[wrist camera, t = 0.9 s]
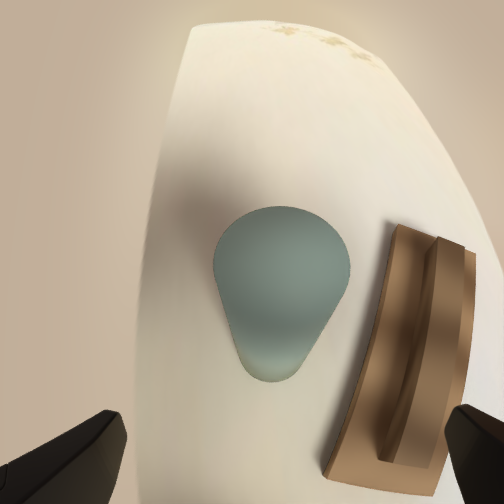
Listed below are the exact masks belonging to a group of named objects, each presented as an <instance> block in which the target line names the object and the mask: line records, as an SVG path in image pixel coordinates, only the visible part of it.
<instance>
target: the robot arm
mask: <svg viewBox="0 0 504 504" xmlns="http://www.w3.org/2000/svg"><path fill="white" fill-rule="evenodd" d="M444 435H445V439H446V442H447V446H448V450H449V454H450V458H451V462H452V466H453V470H454V473H455V477H456V480H457V483H458V485H459V488H460V491H461V494H462V497H463V500H464V503H465V504H504V422H502V421H500V420H498V419H496V418H494V417H492V416H490V415H488V414H486V413H484V412H482V411H480V410H478V409H476V408H474V407H472V406H471V405H469V404H462V405H458V406H455V407H454V408H453V410H452V412H451V414H450V416H449V419H448V421H447V423H446V425H445V428H444ZM126 442H127V432H126V429H125V426H124V423H123V420H122V417H121V415H120V413H119V412H115V411H111V410H103V411H101V412H100V413H98V414H96V415H95V416H93V417H92V418H90V419H88V420H86V421H84V422H83V423H81V424H79V425H77V426H76V427H74V428H72V429H70V430H69V431H67V432H65V433H64V434H61V435H60V436H58V437H56V438H54V439H53V440H51V441H49V442H47V443H45V444H43V445H41V446H40V447H38V448H36V449H34V450H32V451H30V452H28V453H26V454H24V455H22V456H21V457H19V458H17V459H15V460H13V461H11V462H9V463H8V464H5V465H3V466H1V467H0V504H108V503H109V500H110V498H111V495H112V493H113V490H114V487H115V484H116V481H117V477H118V473H119V469H120V465H121V461H122V457H123V453H124V449H125V446H126Z"/></svg>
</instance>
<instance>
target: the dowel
mask: <svg viewBox="0 0 504 504" xmlns="http://www.w3.org/2000/svg"><path fill="white" fill-rule="evenodd" d="M213 269H214V276H215V280H216V283H217V286H218V290H219V293H220V296H221V300H222V303H223V306H224V310H225V313H226V316H227V319H228V323H229V326H230V329H231V332H232V335H233V338H234V342H235V345H236V348H237V351H238V354H239V357H240V360H241V363H242V365H243V367H244V368H245V370H246V371H247V372H248V373H249V374H250V375H251V376H253V377H254V378H256V379H258V380H261V381H265V382H279V381H283V380H285V379H287V378H289V377H291V376H292V375H293V374H295V373H296V372H297V370H298V369H299V368H300V366H301V365H302V363H303V361H304V360H305V358H306V357H307V355H308V353H309V352H310V350H311V349H312V347H313V345H314V344H315V342H316V340H317V339H318V337H319V335H320V334H321V332H322V330H323V329H324V327H325V325H326V324H327V322H328V320H329V319H330V317H331V315H332V313H333V312H334V310H335V308H336V306H337V305H338V303H339V301H340V299H341V297H342V296H343V294H344V292H345V290H346V287H347V285H348V281H349V277H350V259H349V255H348V251H347V249H346V246H345V244H344V242H343V240H342V238H341V237H340V236H339V234H338V233H337V231H336V230H335V229H334V228H333V227H332V226H331V225H330V224H328V223H327V222H326V221H325V220H323V219H322V218H320V217H319V216H317V215H315V214H313V213H311V212H308V211H305V210H302V209H298V208H294V207H285V206H275V207H267V208H262V209H258V210H255V211H253V212H250V213H248V214H246V215H244V216H242V217H241V218H239V219H238V220H236V221H235V222H234V223H233V224H232V225H231V226H229V228H228V229H227V230H226V231H225V232H224V234H223V235H222V237H221V238H220V240H219V242H218V245H217V247H216V250H215V254H214V261H213Z"/></svg>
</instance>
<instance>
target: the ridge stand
mask: <svg viewBox="0 0 504 504" xmlns="http://www.w3.org/2000/svg"><path fill="white" fill-rule="evenodd" d="M475 286H476V254H475V253H473V252H471V251H468V250H466V249H465V247H464V246H462V245H459V244H457V243H454V242H452V241H449V240H447V239H444V238H442V237H439V236H438V237H437V238H435V237H433V236H430V235H428V234H425V233H422V232H420V231H417V230H414V229H412V228H409V227H406V226H403V225H401V224H398V225H397V227H396V229H395V231H394V232H393V235H392V241H391V247H390V253H389V258H388V263H387V269H386V274H385V279H384V284H383V288H382V293H381V297H380V302H379V306H378V310H377V315H376V319H375V323H374V327H373V331H372V334H371V338H370V342H369V346H368V349H367V353H366V356H365V360H364V363H363V367H362V370H361V373H360V376H359V380H358V383H357V386H356V389H355V392H354V395H353V398H352V401H351V404H350V407H349V410H348V413H347V416H346V418H345V421H344V424H343V427H342V429H341V432H340V435H339V437H338V440H337V442H336V445H335V447H334V450H333V452H332V455H331V457H330V460H329V462H328V465H327V467H326V469H325V472H324V474H323V476H324V477H325V478H326V479H329V480H333V481H337V482H341V483H346V484H350V485H355V486H360V487H365V488H370V489H376V490H382V491H388V492H395V493H403V494H411V495H420V496H432V497H433V494H434V492H435V489H436V487H437V484H438V481H439V479H440V476H441V473H442V470H443V467H444V464H445V461H446V458H447V455H448V452H449V450H448V446H447V442H446V439H445V435H444V428H445V425H446V423H447V421H448V419H449V416H450V414H451V412H452V410H453V408H454V407H455V406H458V405H461V402H462V397H463V392H464V387H465V381H466V376H467V370H468V363H469V357H470V349H471V341H472V332H473V321H474V307H475Z"/></svg>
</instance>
